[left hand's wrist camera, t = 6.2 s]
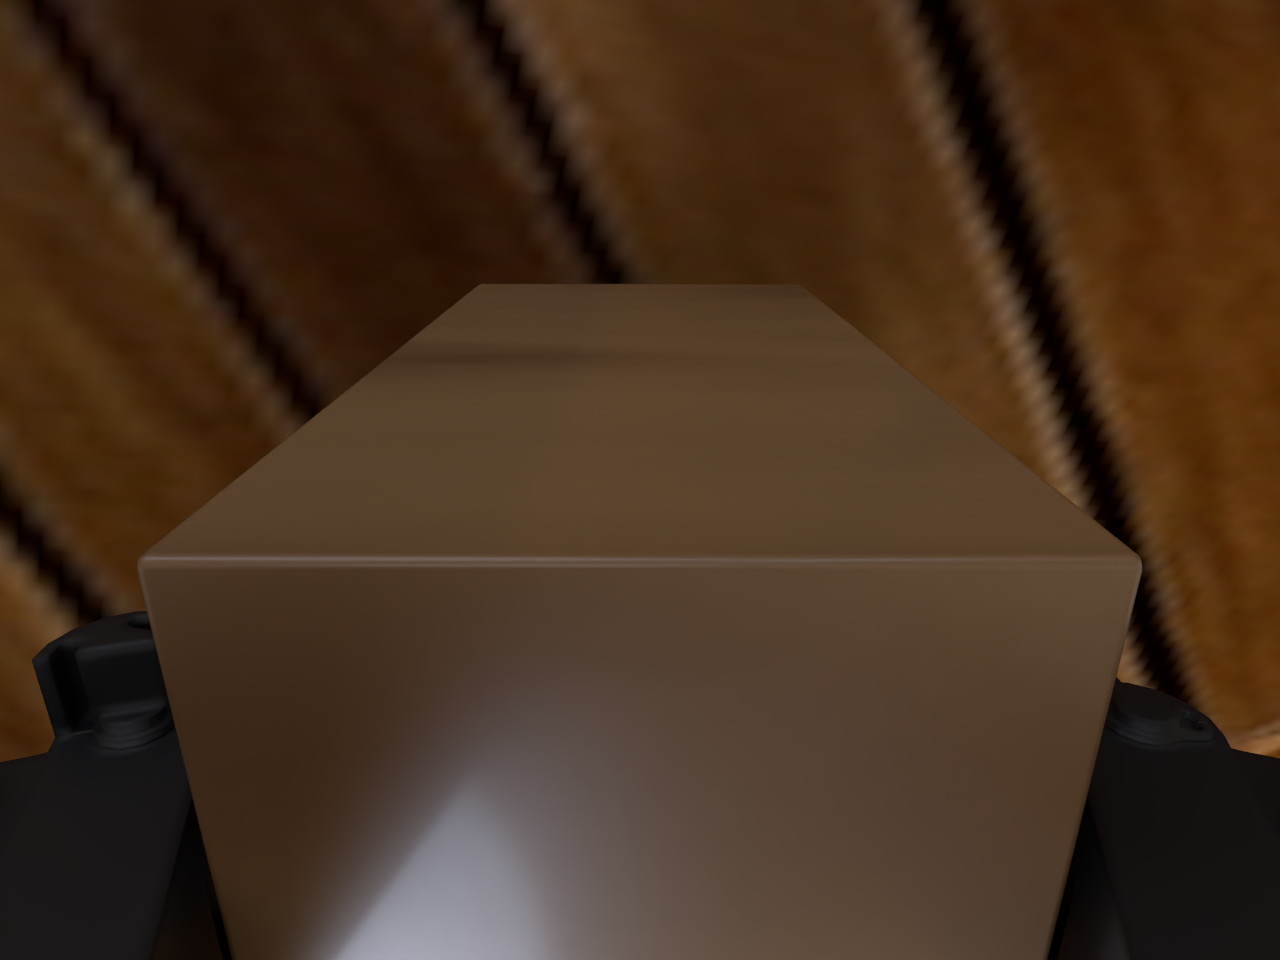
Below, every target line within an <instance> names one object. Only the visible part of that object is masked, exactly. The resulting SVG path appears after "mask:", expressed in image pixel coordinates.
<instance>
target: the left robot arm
mask: <svg viewBox="0 0 1280 960" xmlns="http://www.w3.org/2000/svg"><path fill="white" fill-rule="evenodd" d="M32 663H33V666H34V669H35V672H36V676H37V679H38V682H39V685H40V689H41V692H42V695H43V698H44V702H45V705H46V708H47V711H48V715H49V718H50V721H51V724H52V728H53V731H54V734H55V739H54V741H53V743H52V745H51V747H50V749H49V751H48V752H47V753H43V754H39V755H35V756H30V757H25V758H20V759H15V760H10V761H4V762H0V960H232V957H231V953H230V949H229V945H228V941H227V937H226V933H225V929H224V925H223V921H222V916H221V912H220V908H219V904H218V900H217V896H216V892H215V888H214V884H213V880H212V875H211V871H210V867H209V863H208V859H207V855H206V851H205V847H204V843H203V839H202V834H201V830H200V826H199V822H198V818H197V814H196V810H195V806H194V802H193V798H192V793H191V789H190V785H189V781H188V777H187V773H186V769H185V765H184V761H183V756H182V752H181V748H180V744H179V740H178V736H177V732H176V728H175V724H174V720H173V715H172V711H171V707H170V703H169V699H168V695H167V691H166V687H165V683H164V679H163V674H162V670H161V666H160V662H159V658H158V654H157V650H156V646H155V642H154V638H153V633H152V629H151V625H150V621H149V617H148V613H147V611H139V612H131V613H126V614H122V615H117V616H112V617H107V618H103V619H100V620H98V621H95V622H92V623H89V624H87V625H84V626H81V627H79V628H76V629H73V630H71V631H70V632H68V633H66V634H64V635H63V636H61V637H59V638H57V639H56V640H54V641H52V642H50V643H49V644H47V645H46V646H45V647H44V648H43V649H42V650H41V651H40V652H39V653H38V654H37V655H36V656H35V657H34V658H33V659H32ZM1047 960H1280V758H1275V757H1270V756H1265V755H1259V754H1254V753H1249V752H1244V751H1240V750H1236V749H1232V748H1231V747H1230V745H1229V743H1228V742H1227V740H1226V738H1225V736H1224V735H1223V734H1222V732H1221V731H1220V730H1219V729H1218V728H1217V727H1216V725H1215V724H1214V723H1213V722H1212V721H1211V719H1210V718H1208V717H1207V716H1205V715H1204V714H1202V713H1201V712H1199V711H1198V710H1196V709H1195V708H1193V707H1192V706H1190V705H1189V704H1187V703H1186V702H1184V701H1181V700H1179V699H1177V698H1174V697H1172V696H1170V695H1167V694H1165V693H1163V692H1160V691H1158V690H1155V689H1150V688H1146V687H1142V686H1138V685H1134V684H1130V683H1122V682H1121V681H1120V680H1119V679H1118V678H1117V677H1116V679H1115V683H1114V687H1113V691H1112V696H1111V700H1110V704H1109V708H1108V712H1107V716H1106V720H1105V724H1104V728H1103V733H1102V737H1101V741H1100V745H1099V749H1098V753H1097V757H1096V761H1095V765H1094V770H1093V774H1092V778H1091V782H1090V786H1089V790H1088V794H1087V798H1086V802H1085V807H1084V811H1083V815H1082V819H1081V823H1080V827H1079V831H1078V835H1077V839H1076V844H1075V848H1074V852H1073V856H1072V860H1071V864H1070V868H1069V872H1068V876H1067V881H1066V885H1065V889H1064V893H1063V897H1062V901H1061V905H1060V909H1059V913H1058V918H1057V922H1056V926H1055V930H1054V934H1053V938H1052V942H1051V946H1050V950H1049V955H1048V959H1047Z"/></svg>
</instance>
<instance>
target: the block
mask: <svg viewBox="0 0 1280 960" xmlns="http://www.w3.org/2000/svg"><path fill="white" fill-rule="evenodd" d="M137 572H138V576H139V580H140V584H141V588H142V592H143V596H144V601H145V605H146V609H147V613H148V617H149V621H150V625H151V629H152V633H153V638H154V642H155V646H156V650H157V654H158V658H159V662H160V666H161V670H162V674H163V679H164V683H165V687H166V691H167V695H168V699H169V703H170V707H171V711H172V715H173V720H174V724H175V728H176V732H177V736H178V740H179V744H180V748H181V752H182V756H183V761H184V765H185V769H186V773H187V777H188V781H189V785H190V789H191V793H192V798H193V802H194V806H195V810H196V814H197V818H198V822H199V826H200V830H201V834H202V839H203V843H204V847H205V851H206V855H207V859H208V863H209V867H210V871H211V875H212V880H213V884H214V888H215V892H216V896H217V900H218V904H219V908H220V912H221V916H222V921H223V925H224V929H225V933H226V937H227V941H228V945H229V949H230V953H231V957H232V960H1047V959H1048V955H1049V950H1050V946H1051V942H1052V938H1053V934H1054V930H1055V926H1056V922H1057V918H1058V913H1059V909H1060V905H1061V901H1062V897H1063V893H1064V889H1065V885H1066V881H1067V876H1068V872H1069V868H1070V864H1071V860H1072V856H1073V852H1074V848H1075V844H1076V839H1077V835H1078V831H1079V827H1080V823H1081V819H1082V815H1083V811H1084V807H1085V802H1086V798H1087V794H1088V790H1089V786H1090V782H1091V778H1092V774H1093V770H1094V765H1095V761H1096V757H1097V753H1098V749H1099V745H1100V741H1101V737H1102V733H1103V728H1104V724H1105V720H1106V716H1107V712H1108V708H1109V704H1110V700H1111V696H1112V691H1113V687H1114V683H1115V679H1116V675H1117V671H1118V667H1119V663H1120V659H1121V654H1122V650H1123V646H1124V642H1125V638H1126V634H1127V630H1128V626H1129V622H1130V617H1131V613H1132V609H1133V605H1134V601H1135V597H1136V593H1137V589H1138V585H1139V580H1140V576H1141V572H1142V564H1141V560H1140V557H1139V556H1138V555H1137V554H1136V553H1135V552H1133V551H1132V550H1131V549H1130V548H1128V547H1127V546H1126V545H1125V544H1123V543H1122V542H1121V541H1120V540H1118V539H1117V538H1116V537H1115V536H1113V535H1112V534H1111V533H1110V532H1108V531H1107V530H1106V529H1105V528H1103V527H1102V526H1101V525H1100V524H1098V523H1097V522H1096V521H1095V520H1093V519H1092V518H1091V517H1090V516H1088V515H1087V514H1086V513H1085V512H1083V511H1082V510H1081V509H1080V508H1078V507H1077V506H1076V505H1075V504H1073V503H1072V502H1071V501H1070V500H1068V499H1067V498H1066V497H1065V496H1063V495H1062V494H1061V493H1060V492H1059V491H1057V490H1056V489H1055V488H1054V487H1052V486H1051V485H1050V484H1049V483H1047V482H1046V481H1045V480H1044V479H1042V478H1041V477H1040V476H1039V475H1037V474H1036V473H1035V472H1034V471H1032V470H1031V469H1030V468H1029V467H1027V466H1026V465H1025V464H1024V463H1022V462H1021V461H1020V460H1019V459H1017V458H1016V457H1015V456H1014V455H1012V454H1011V453H1010V452H1009V451H1007V450H1006V449H1005V448H1004V447H1002V446H1001V445H1000V444H999V443H997V442H996V441H995V440H994V439H992V438H991V437H990V436H989V435H987V434H986V433H985V432H984V431H982V430H981V429H980V428H979V427H977V426H976V425H975V424H974V423H972V422H971V421H970V420H969V419H967V418H966V417H965V416H964V415H963V414H961V413H960V412H959V411H958V410H956V409H955V408H954V407H953V406H951V405H950V404H949V403H948V402H946V401H945V400H944V399H943V398H941V397H940V396H939V395H938V394H936V393H935V392H934V391H933V390H931V389H930V388H929V387H928V386H926V385H925V384H924V383H923V382H921V381H920V380H919V379H918V378H916V377H915V376H914V375H913V374H911V373H910V372H909V371H908V370H906V369H905V368H904V367H903V366H901V365H900V364H899V363H898V362H896V361H895V360H894V359H893V358H891V357H890V356H889V355H888V354H886V353H885V352H884V351H883V350H881V349H880V348H879V347H878V346H876V345H875V344H874V343H873V342H871V341H870V340H869V339H868V338H867V337H865V336H864V335H863V334H862V333H860V332H859V331H858V330H857V329H855V328H854V327H853V326H852V325H850V324H849V323H848V322H847V321H845V320H844V319H843V318H842V317H840V316H839V315H838V314H837V313H835V312H834V311H833V310H832V309H830V308H829V307H828V306H827V305H825V304H824V303H823V302H822V301H820V300H819V299H818V298H817V297H815V296H814V295H813V294H812V293H810V292H809V291H808V290H807V289H805V288H804V287H803V286H802V285H799V284H480V285H478V286H477V287H475V288H474V289H473V290H472V291H470V292H469V293H468V294H467V295H465V296H464V297H463V298H462V299H460V300H459V301H458V302H457V303H456V304H454V305H453V306H452V307H451V308H449V309H448V310H447V311H446V312H444V313H443V314H442V315H441V316H439V317H438V318H437V319H436V320H434V321H433V322H432V323H431V324H429V325H428V326H427V327H426V328H424V329H423V330H422V331H421V332H419V333H418V334H417V335H416V336H414V337H413V338H412V339H411V340H409V341H408V342H407V343H406V344H404V345H403V346H402V347H401V348H399V349H398V350H397V351H396V352H394V353H393V354H392V355H391V356H389V357H388V358H387V359H386V360H384V361H383V362H382V363H381V364H379V365H378V366H377V367H376V368H374V369H373V370H372V371H371V372H369V373H368V374H367V375H366V376H364V377H363V378H362V379H361V380H359V381H358V382H357V383H356V384H354V385H353V386H352V387H351V388H349V389H348V390H347V391H346V392H344V393H343V394H342V395H341V396H339V397H338V398H337V399H336V400H334V401H333V402H332V403H331V404H329V405H328V406H327V407H326V408H324V409H323V410H322V411H321V412H319V413H318V414H317V415H316V416H314V417H313V418H312V419H311V420H309V421H308V422H307V423H306V424H304V425H303V426H302V427H301V428H299V429H298V430H297V431H296V432H294V433H293V434H292V435H291V436H289V437H288V438H287V439H286V440H284V441H283V442H282V443H281V444H279V445H278V446H277V447H276V448H274V449H273V450H272V451H271V452H269V453H268V454H267V455H266V456H264V457H263V458H262V459H261V460H259V461H258V462H257V463H256V464H254V465H253V466H252V467H251V468H249V469H248V470H247V471H246V472H244V473H243V474H242V475H241V476H239V477H238V478H237V479H236V480H234V481H233V482H232V483H231V484H230V485H228V486H227V487H226V488H225V489H223V490H222V491H221V492H220V493H218V494H217V495H216V496H215V497H213V498H212V499H211V500H210V501H208V502H207V503H206V504H205V505H203V506H202V507H201V508H200V509H198V510H197V511H196V512H195V513H193V514H192V515H191V516H190V517H188V518H187V519H186V520H185V521H183V522H182V523H181V524H180V525H178V526H177V527H176V528H175V529H173V530H172V531H171V532H170V533H168V534H167V535H166V536H165V537H163V538H162V539H161V540H160V541H158V542H157V543H156V544H155V545H153V546H152V547H151V548H150V549H148V550H147V551H146V552H145V553H143V554H142V555H141V556H140V558H139V560H138V564H137Z"/></svg>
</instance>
